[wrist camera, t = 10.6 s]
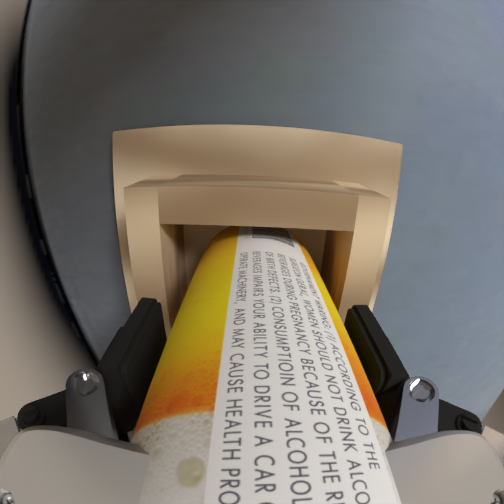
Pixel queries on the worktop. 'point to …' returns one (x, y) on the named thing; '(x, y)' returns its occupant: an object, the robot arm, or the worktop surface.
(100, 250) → the worktop surface
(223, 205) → the can holder
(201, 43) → the worktop surface
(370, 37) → the worktop surface
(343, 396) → the beer can
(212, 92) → the worktop surface
